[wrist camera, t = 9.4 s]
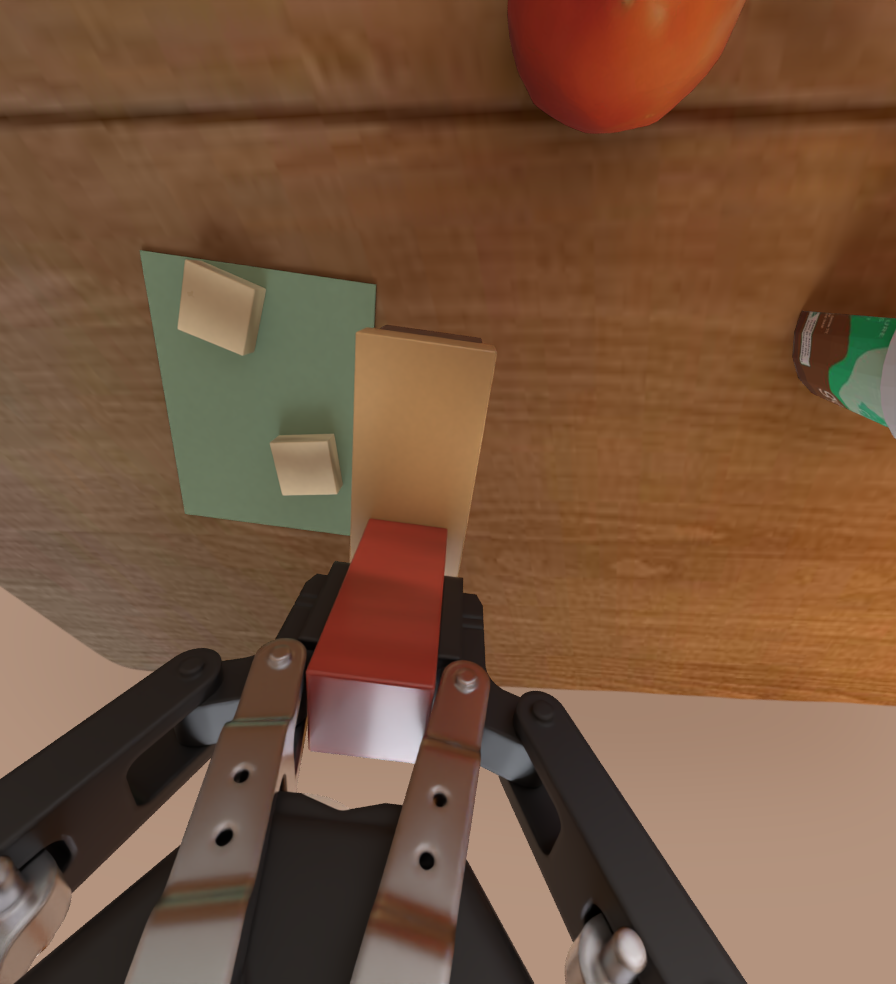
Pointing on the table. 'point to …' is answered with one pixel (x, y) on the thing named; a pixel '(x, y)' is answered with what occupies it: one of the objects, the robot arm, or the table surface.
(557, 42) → the tomato
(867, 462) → the table surface
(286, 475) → the chip
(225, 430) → the mat
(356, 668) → the brush
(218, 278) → the chip
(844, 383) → the food container
